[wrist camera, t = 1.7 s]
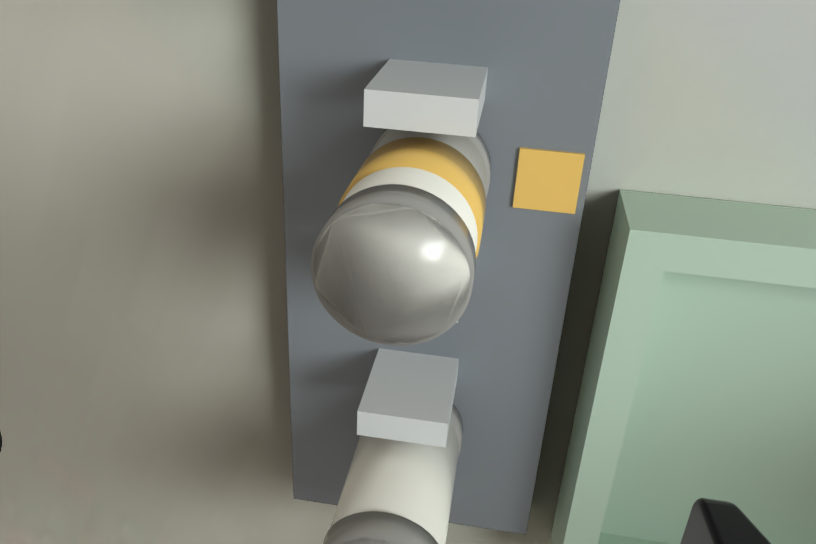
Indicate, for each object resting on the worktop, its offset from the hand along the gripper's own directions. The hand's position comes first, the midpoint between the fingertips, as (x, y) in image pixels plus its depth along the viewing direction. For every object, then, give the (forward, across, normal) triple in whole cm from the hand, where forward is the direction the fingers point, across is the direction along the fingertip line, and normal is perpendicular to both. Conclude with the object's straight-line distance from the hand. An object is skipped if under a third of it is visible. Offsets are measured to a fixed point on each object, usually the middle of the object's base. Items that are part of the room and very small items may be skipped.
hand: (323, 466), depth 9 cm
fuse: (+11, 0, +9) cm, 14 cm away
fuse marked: (+11, 0, 0) cm, 11 cm away
